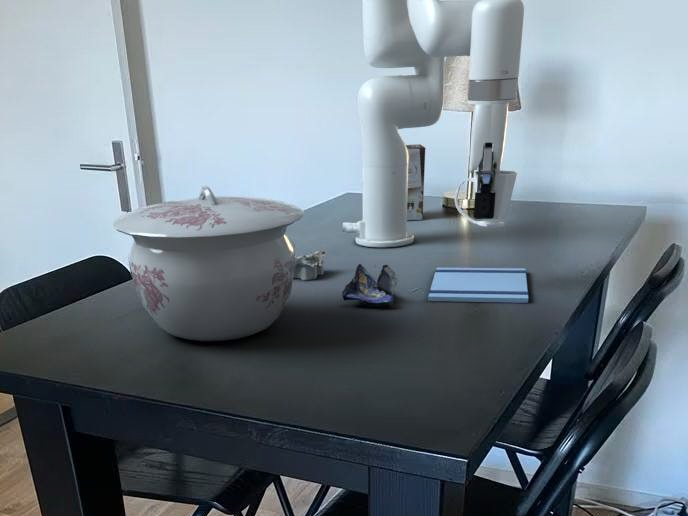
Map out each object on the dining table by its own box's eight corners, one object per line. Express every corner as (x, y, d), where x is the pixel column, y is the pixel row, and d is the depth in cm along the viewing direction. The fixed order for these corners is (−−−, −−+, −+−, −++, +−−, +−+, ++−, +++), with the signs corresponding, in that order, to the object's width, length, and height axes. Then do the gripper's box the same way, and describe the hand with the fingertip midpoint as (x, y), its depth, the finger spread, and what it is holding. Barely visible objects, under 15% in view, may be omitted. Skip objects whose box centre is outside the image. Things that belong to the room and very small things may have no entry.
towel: (428, 301, 131) (428, 295, 131) (436, 271, 148) (436, 266, 148) (527, 303, 128) (528, 297, 127) (524, 272, 145) (525, 267, 144)
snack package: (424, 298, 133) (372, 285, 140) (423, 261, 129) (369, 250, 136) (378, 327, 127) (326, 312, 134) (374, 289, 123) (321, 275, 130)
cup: (505, 228, 128) (511, 174, 124) (446, 225, 132) (450, 172, 129) (517, 222, 134) (522, 171, 130) (460, 219, 138) (463, 169, 134)
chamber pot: (239, 370, 106) (225, 207, 96) (91, 342, 119) (65, 195, 109) (342, 314, 126) (340, 175, 116) (206, 296, 139) (193, 168, 129)
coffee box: (423, 220, 192) (426, 147, 184) (397, 221, 193) (398, 148, 184) (419, 213, 200) (421, 143, 192) (393, 214, 200) (395, 144, 192)
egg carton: (328, 272, 151) (328, 250, 149) (310, 282, 145) (310, 259, 143) (279, 268, 155) (278, 246, 153) (260, 277, 149) (259, 255, 147)
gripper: (469, 90, 131) (463, 206, 140) (465, 96, 116) (458, 224, 125) (516, 89, 129) (506, 205, 138) (518, 94, 115) (507, 224, 124)
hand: (484, 213), depth 132 cm, fingers closed on cup, 6 cm apart
